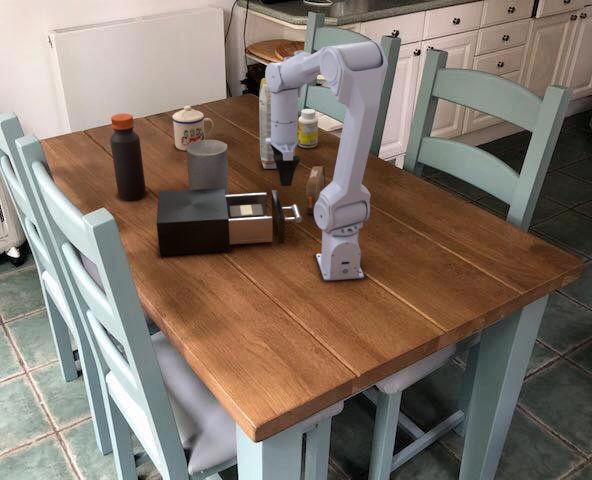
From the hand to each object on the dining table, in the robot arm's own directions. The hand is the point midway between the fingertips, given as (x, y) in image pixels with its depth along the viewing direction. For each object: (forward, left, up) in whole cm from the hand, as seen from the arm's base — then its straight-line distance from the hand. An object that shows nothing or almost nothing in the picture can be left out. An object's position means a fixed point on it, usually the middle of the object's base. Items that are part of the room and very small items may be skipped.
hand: (283, 178), depth 141 cm
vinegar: (+16, +36, -10) cm, 40 cm away
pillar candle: (+11, +17, -10) cm, 23 cm away
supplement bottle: (+42, -13, -10) cm, 45 cm away
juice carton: (+30, -2, -10) cm, 32 cm away
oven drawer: (-7, +6, -9) cm, 13 cm away
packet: (-7, +9, -8) cm, 14 cm away
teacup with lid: (+47, +20, -10) cm, 52 cm away
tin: (+5, -8, -10) cm, 14 cm away
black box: (-7, +21, -10) cm, 24 cm away
